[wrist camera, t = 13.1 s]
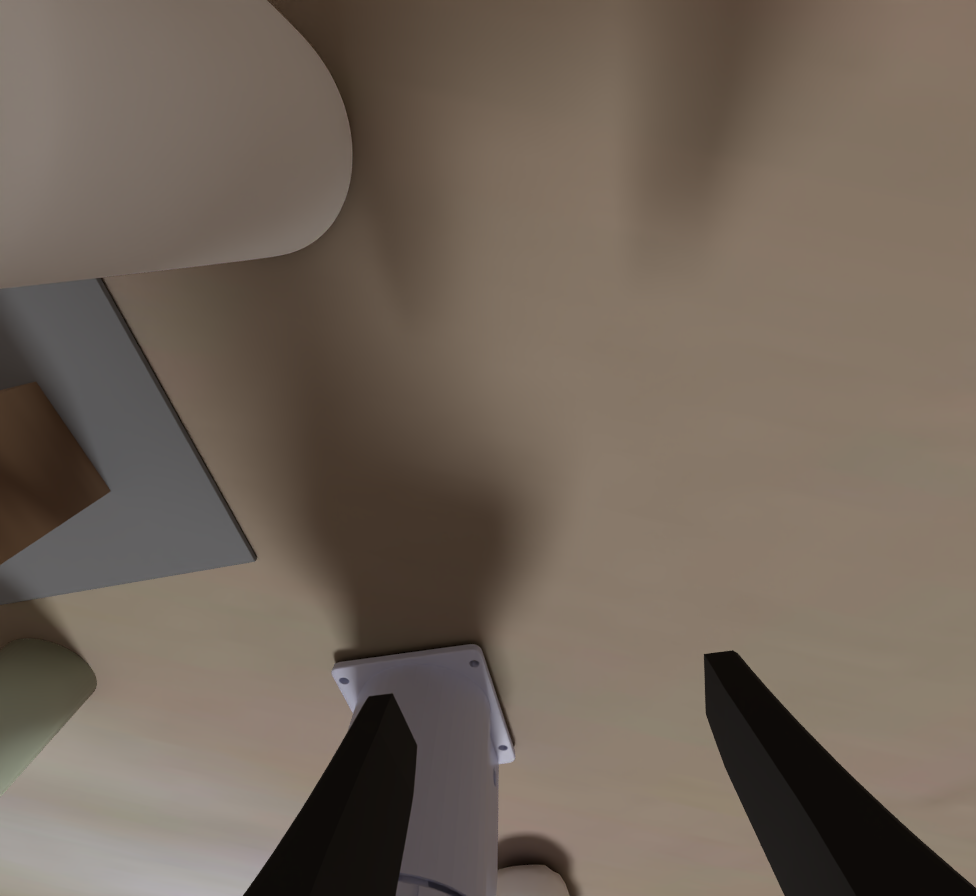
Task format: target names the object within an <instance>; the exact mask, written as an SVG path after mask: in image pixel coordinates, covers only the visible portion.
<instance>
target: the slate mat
mask: <svg viewBox="0 0 976 896" xmlns="http://www.w3.org/2000/svg"><path fill="white" fill-rule="evenodd" d="M32 382H37V384H38V385H39V386H40V388H41V389H42V391H43V392H44V394H45V395H46V397H47V398H48V400H49V401H50V403H51V404H52V406H53V407H54V408H55V410H56V411H57V413H58V414H59V416H60V417H61V419H62V420H63V422H64V423H65V425H66V426H67V428H68V429H69V430H70V432H71V433H72V435H73V436H74V438H75V439H76V441H77V442H78V444H79V445H80V447H81V448H82V449H83V451H84V452H85V454H86V455H87V457H88V458H89V460H90V461H91V463H92V464H93V466H94V467H95V469H96V470H97V471H98V473H99V474H100V476H101V477H102V479H103V480H104V482H105V483H106V485H107V486H108V488H109V489H110V491H111V492H109V493H108V494H106V495H105V496H103V497H102V498H100V499H99V500H97V501H96V502H94V503H93V504H91V505H90V506H88V507H87V508H85V509H84V510H82V511H81V512H79V513H78V514H76V515H75V516H73V517H72V518H70V519H69V520H67V521H66V522H64V523H63V524H61V525H59V526H58V527H56V528H55V529H53V530H52V531H50V532H49V533H47V534H46V535H44V536H43V537H41V538H40V539H38V540H37V541H35V542H34V543H32V544H31V545H29V546H28V547H26V548H25V549H23V550H22V551H20V552H19V553H17V554H16V555H14V556H13V557H11V558H10V559H8V560H7V561H5V562H4V563H2V564H1V565H0V605H3V604H8V603H14V602H20V601H26V600H32V599H38V598H44V597H50V596H55V595H61V594H67V593H73V592H79V591H85V590H91V589H97V588H102V587H108V586H114V585H120V584H126V583H132V582H138V581H144V580H149V579H155V578H161V577H167V576H173V575H179V574H185V573H190V572H196V571H202V570H208V569H214V568H220V567H226V566H232V565H237V564H243V563H249V562H255V561H256V559H257V558H256V556H255V554H254V552H253V550H252V549H251V547H250V545H249V543H248V542H247V540H246V538H245V536H244V534H243V533H242V531H241V529H240V527H239V525H238V524H237V522H236V520H235V518H234V516H233V515H232V513H231V511H230V509H229V507H228V506H227V504H226V502H225V500H224V499H223V497H222V495H221V493H220V491H219V490H218V488H217V486H216V484H215V482H214V481H213V479H212V477H211V475H210V473H209V472H208V470H207V468H206V466H205V464H204V463H203V461H202V459H201V457H200V456H199V454H198V452H197V450H196V448H195V447H194V445H193V443H192V441H191V439H190V438H189V436H188V434H187V432H186V430H185V429H184V427H183V425H182V423H181V421H180V420H179V418H178V416H177V414H176V413H175V411H174V409H173V407H172V405H171V404H170V402H169V400H168V398H167V396H166V395H165V393H164V391H163V389H162V387H161V386H160V384H159V382H158V380H157V378H156V377H155V375H154V373H153V371H152V370H151V368H150V366H149V364H148V362H147V361H146V359H145V357H144V355H143V353H142V352H141V350H140V348H139V346H138V344H137V343H136V341H135V339H134V337H133V335H132V334H131V332H130V330H129V328H128V327H127V325H126V323H125V321H124V319H123V318H122V316H121V314H120V312H119V310H118V309H117V307H116V305H115V303H114V301H113V300H112V298H111V296H110V294H109V292H108V291H107V289H106V287H105V285H104V284H103V282H102V280H101V278H94V279H85V280H76V281H67V282H59V283H50V284H40V285H31V286H21V287H12V288H3V289H0V390H3V389H7V388H11V387H15V386H20V385H24V384H28V383H32Z"/></svg>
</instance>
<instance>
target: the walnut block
mask: <svg viewBox="0 0 976 896" xmlns="http://www.w3.org/2000/svg"><path fill="white" fill-rule="evenodd" d="M109 492H111V491H110V489H109V488H108V486H107V485H106V483H105V482H104V480H103V479H102V477H101V476H100V474H99V473H98V471H97V470H96V469H95V467H94V466H93V464H92V463H91V461H90V460H89V458H88V457H87V455H86V454H85V452H84V451H83V449H82V448H81V447H80V445H79V444H78V442H77V441H76V439H75V438H74V436H73V435H72V433H71V432H70V430H69V429H68V428H67V426H66V425H65V423H64V422H63V420H62V419H61V417H60V416H59V414H58V413H57V411H56V410H55V408H54V407H53V406H52V404H51V403H50V401H49V400H48V398H47V397H46V395H45V394H44V392H43V391H42V389H41V388H40V386H39V385H38V384H37V382H32V383H28V384H24V385H20V386H15V387H11V388H7V389H3V390H0V565H1V564H2V563H4V562H5V561H7V560H8V559H10V558H11V557H13V556H14V555H16V554H17V553H19V552H20V551H22V550H23V549H25V548H26V547H28V546H29V545H31V544H32V543H34V542H35V541H37V540H38V539H40V538H41V537H43V536H44V535H46V534H47V533H49V532H50V531H52V530H53V529H55V528H56V527H58V526H59V525H61V524H63V523H64V522H66V521H67V520H69V519H70V518H72V517H73V516H75V515H76V514H78V513H79V512H81V511H82V510H84V509H85V508H87V507H88V506H90V505H91V504H93V503H94V502H96V501H97V500H99V499H100V498H102V497H103V496H105V495H106V494H108V493H109Z"/></svg>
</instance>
